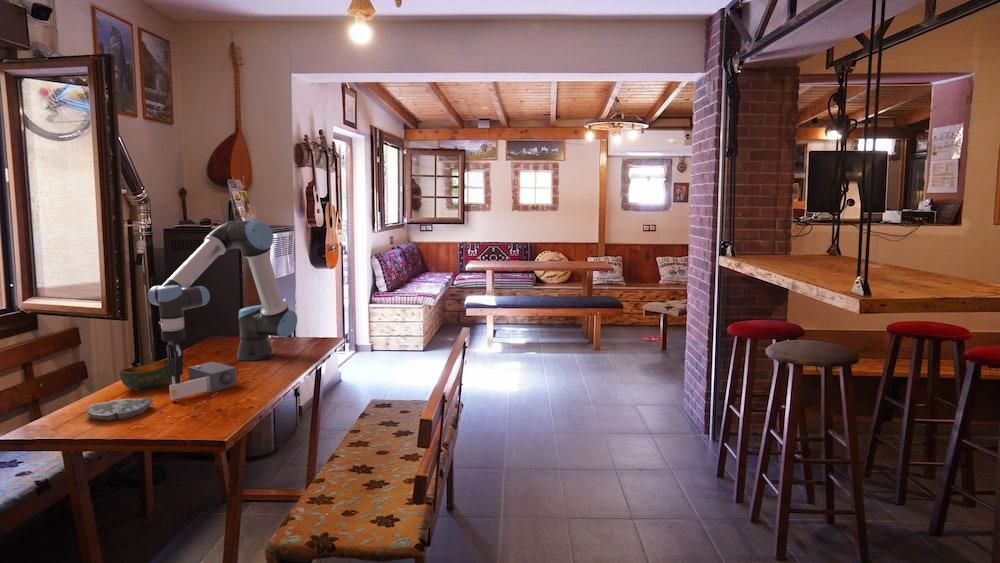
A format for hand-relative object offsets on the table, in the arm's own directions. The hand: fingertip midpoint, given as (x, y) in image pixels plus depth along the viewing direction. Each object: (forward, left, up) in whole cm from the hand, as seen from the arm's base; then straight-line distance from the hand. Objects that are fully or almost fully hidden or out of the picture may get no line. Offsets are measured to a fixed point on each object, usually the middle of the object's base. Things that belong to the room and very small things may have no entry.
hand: (177, 392), depth 228 cm
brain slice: (+20, 0, -3) cm, 20 cm away
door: (-3, +3, -2) cm, 5 cm away
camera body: (-16, -4, -2) cm, 17 cm away
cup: (-2, -21, -2) cm, 21 cm away
